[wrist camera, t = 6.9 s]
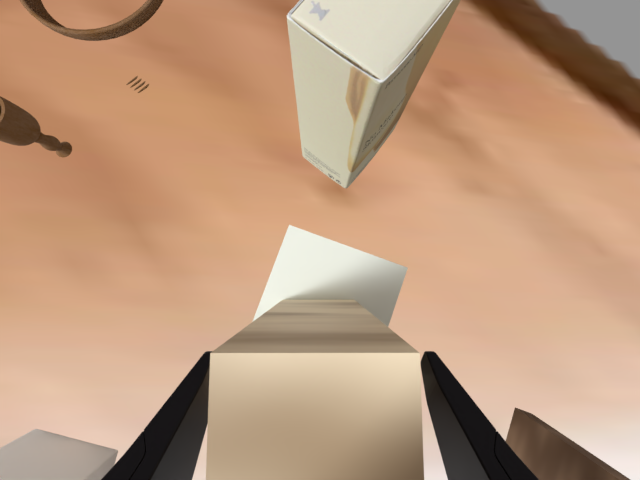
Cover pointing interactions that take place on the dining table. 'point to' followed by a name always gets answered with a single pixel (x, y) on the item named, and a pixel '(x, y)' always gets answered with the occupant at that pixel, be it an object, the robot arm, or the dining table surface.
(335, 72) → the skincare box
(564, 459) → the screen
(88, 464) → the milk
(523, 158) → the dining table surface
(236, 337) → the wooden block
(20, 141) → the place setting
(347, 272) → the mat
